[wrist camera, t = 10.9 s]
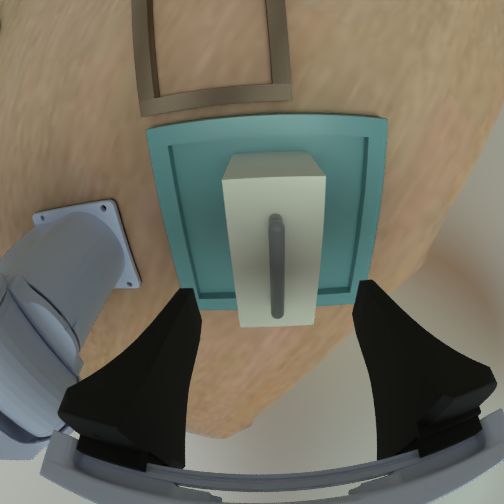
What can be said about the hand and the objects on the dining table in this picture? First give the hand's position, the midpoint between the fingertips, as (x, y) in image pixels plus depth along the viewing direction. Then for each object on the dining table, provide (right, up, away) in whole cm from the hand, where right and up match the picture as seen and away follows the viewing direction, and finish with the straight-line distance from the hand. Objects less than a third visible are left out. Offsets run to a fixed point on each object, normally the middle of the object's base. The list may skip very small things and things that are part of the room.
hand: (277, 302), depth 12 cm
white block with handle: (0, +4, +6) cm, 7 cm away
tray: (0, +5, +7) cm, 8 cm away
